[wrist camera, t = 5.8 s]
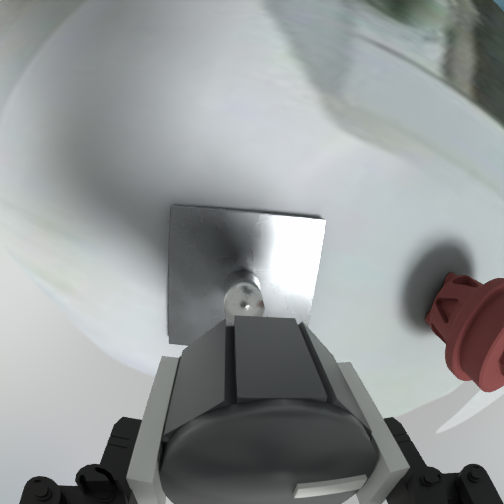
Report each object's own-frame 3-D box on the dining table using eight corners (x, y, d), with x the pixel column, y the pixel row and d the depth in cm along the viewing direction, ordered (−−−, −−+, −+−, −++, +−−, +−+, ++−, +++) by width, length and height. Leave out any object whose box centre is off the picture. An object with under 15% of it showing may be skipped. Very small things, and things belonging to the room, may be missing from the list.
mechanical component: (484, 300, 29) (427, 356, 30) (462, 236, 26) (395, 300, 27) (552, 347, 17) (485, 422, 18) (550, 275, 14) (470, 371, 15)
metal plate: (173, 205, 24) (158, 214, 19) (322, 218, 25) (342, 230, 20) (170, 337, 27) (160, 370, 22) (300, 345, 28) (312, 378, 23)
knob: (183, 427, 14) (170, 526, 8) (179, 310, 12) (144, 420, 6) (313, 429, 14) (342, 521, 8) (345, 319, 13) (412, 415, 7)
